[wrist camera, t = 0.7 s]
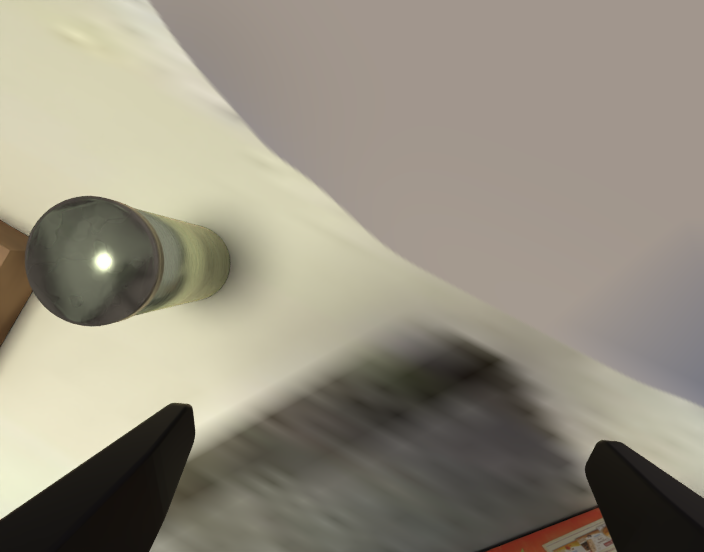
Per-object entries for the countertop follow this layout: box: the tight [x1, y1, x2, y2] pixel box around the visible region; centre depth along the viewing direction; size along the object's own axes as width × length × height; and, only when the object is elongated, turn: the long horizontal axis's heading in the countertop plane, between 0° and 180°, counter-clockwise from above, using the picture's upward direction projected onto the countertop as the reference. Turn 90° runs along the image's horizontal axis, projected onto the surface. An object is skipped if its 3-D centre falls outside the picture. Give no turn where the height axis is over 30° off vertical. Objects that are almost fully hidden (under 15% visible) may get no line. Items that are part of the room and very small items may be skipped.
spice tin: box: [25, 196, 230, 326], centre depth 18 cm, size 5×5×9 cm
